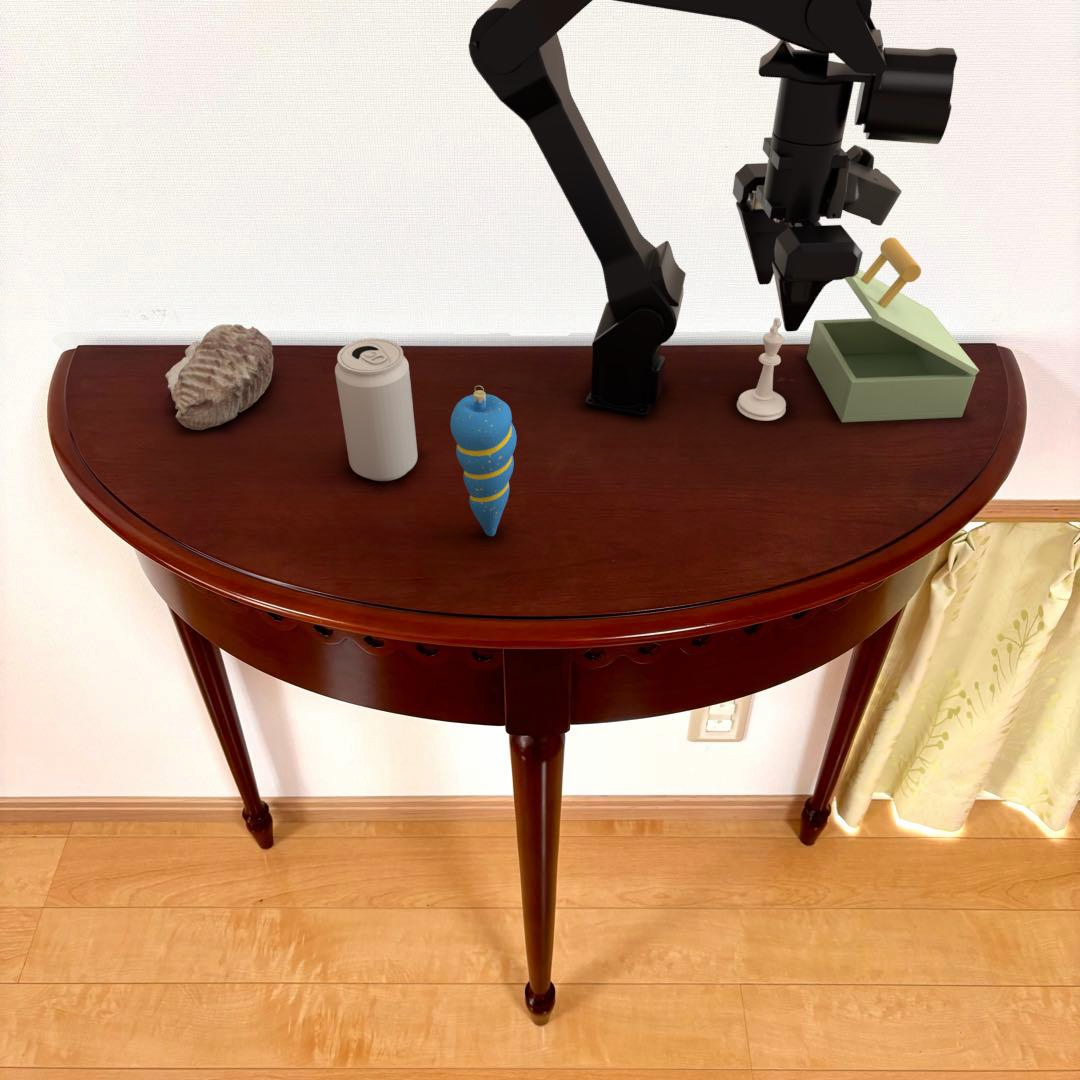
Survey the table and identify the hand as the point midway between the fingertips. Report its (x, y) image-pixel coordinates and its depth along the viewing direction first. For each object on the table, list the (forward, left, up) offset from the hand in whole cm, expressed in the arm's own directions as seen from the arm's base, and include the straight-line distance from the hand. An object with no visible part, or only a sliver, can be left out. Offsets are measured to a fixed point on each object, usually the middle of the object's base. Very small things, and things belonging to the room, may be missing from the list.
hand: (777, 306), depth 89 cm
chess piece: (0, +1, -12) cm, 12 cm away
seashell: (-53, -16, -12) cm, 56 cm away
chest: (+11, +9, -12) cm, 19 cm away
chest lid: (+12, +9, -4) cm, 15 cm away
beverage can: (-32, -21, -12) cm, 40 cm away
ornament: (-19, -27, -12) cm, 35 cm away
